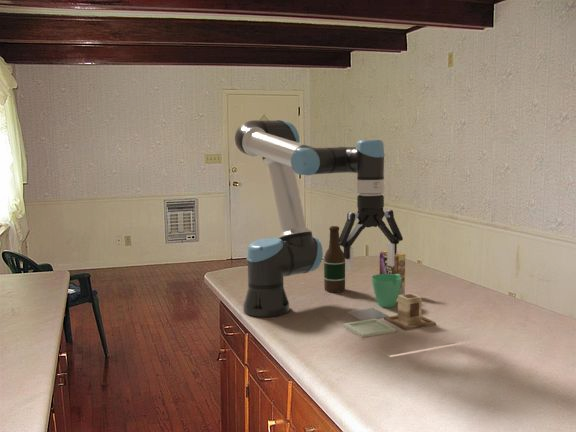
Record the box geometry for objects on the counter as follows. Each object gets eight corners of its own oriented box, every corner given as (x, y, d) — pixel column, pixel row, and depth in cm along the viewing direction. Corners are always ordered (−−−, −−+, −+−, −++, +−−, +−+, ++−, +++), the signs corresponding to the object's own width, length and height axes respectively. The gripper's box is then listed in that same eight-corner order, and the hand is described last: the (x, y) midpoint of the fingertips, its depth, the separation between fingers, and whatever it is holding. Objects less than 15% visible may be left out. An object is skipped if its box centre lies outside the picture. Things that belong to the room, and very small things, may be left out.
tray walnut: (404, 331, 164) (404, 327, 164) (384, 320, 174) (384, 317, 174) (435, 326, 168) (435, 322, 168) (414, 316, 178) (414, 312, 178)
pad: (361, 322, 173) (361, 320, 173) (346, 313, 182) (346, 311, 182) (389, 318, 177) (389, 316, 177) (373, 309, 186) (373, 307, 186)
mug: (393, 312, 182) (393, 282, 181) (366, 307, 188) (366, 278, 187) (412, 301, 194) (412, 273, 193) (386, 297, 200) (386, 269, 199)
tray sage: (362, 338, 159) (362, 334, 159) (343, 327, 169) (343, 323, 169) (395, 333, 163) (395, 329, 163) (375, 322, 173) (375, 318, 173)
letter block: (407, 325, 168) (407, 299, 167) (397, 320, 173) (398, 294, 172) (421, 323, 170) (421, 297, 169) (411, 318, 174) (411, 293, 173)
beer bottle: (346, 292, 207) (345, 228, 204) (324, 293, 207) (324, 228, 204) (344, 287, 215) (344, 224, 212) (323, 287, 215) (323, 225, 212)
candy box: (405, 295, 202) (406, 253, 200) (397, 297, 200) (398, 255, 198) (386, 290, 209) (386, 250, 207) (378, 292, 206) (378, 251, 204)
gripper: (337, 197, 153) (337, 274, 156) (415, 193, 162) (414, 265, 165) (325, 195, 160) (326, 269, 162) (400, 191, 169) (400, 261, 172)
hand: (370, 267), depth 164 cm, fingers open, 13 cm apart
